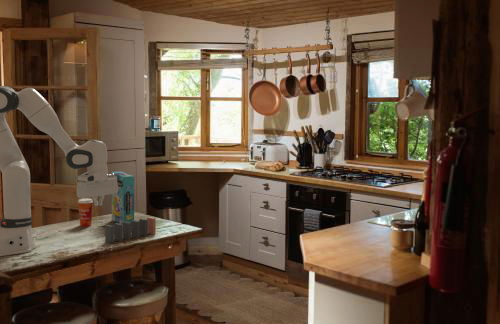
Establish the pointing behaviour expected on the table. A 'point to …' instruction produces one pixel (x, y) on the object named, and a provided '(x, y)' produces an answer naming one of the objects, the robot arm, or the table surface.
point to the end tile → (151, 225)
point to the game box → (123, 198)
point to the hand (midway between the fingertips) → (98, 205)
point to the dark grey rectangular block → (109, 234)
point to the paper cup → (85, 212)
